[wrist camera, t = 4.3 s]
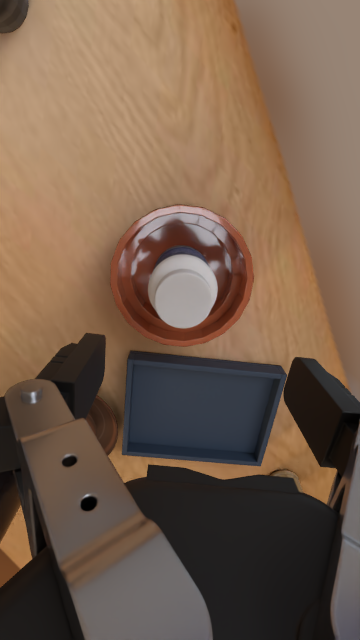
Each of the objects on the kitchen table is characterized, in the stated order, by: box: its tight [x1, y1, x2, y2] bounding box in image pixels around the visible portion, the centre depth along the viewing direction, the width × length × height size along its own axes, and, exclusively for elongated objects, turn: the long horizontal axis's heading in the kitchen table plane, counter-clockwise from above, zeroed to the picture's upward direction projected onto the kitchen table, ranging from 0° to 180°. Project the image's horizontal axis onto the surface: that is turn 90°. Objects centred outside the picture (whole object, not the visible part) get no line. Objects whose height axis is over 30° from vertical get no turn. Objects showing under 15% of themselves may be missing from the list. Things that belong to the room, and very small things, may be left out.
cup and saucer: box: [85, 395, 118, 456], centre depth 32 cm, size 12×12×6 cm
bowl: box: [110, 205, 254, 347], centre depth 26 cm, size 12×12×4 cm
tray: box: [122, 351, 287, 466], centre depth 33 cm, size 17×13×2 cm
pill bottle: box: [148, 245, 218, 328], centre depth 24 cm, size 5×5×10 cm
